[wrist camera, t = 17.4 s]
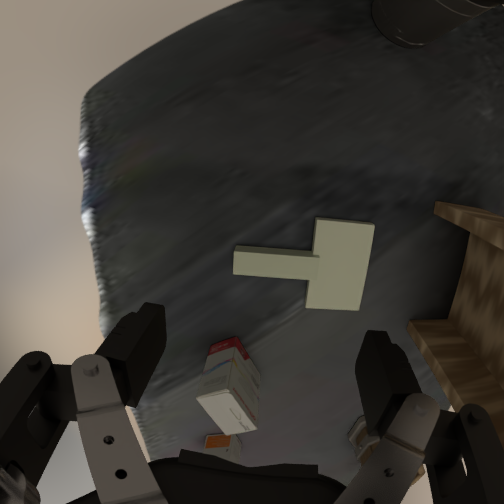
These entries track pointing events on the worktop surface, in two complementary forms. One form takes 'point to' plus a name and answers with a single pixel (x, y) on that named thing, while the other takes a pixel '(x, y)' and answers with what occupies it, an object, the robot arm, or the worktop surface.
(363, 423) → the tankard
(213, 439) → the skincare box
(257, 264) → the sage mallet
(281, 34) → the worktop surface
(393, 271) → the worktop surface
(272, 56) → the worktop surface
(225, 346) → the ink box
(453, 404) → the wooden crate
